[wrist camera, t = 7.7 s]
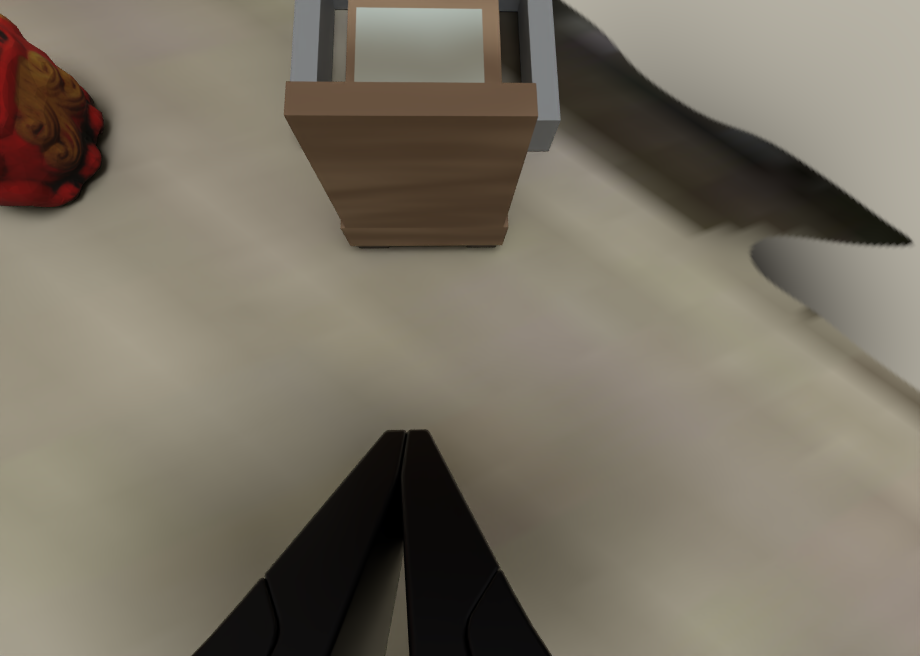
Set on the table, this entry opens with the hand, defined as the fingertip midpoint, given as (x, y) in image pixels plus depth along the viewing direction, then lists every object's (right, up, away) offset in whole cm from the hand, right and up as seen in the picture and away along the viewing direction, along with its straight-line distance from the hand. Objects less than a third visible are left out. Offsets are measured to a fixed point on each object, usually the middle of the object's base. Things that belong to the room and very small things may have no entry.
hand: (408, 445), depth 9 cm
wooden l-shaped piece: (-1, +13, +14) cm, 19 cm away
